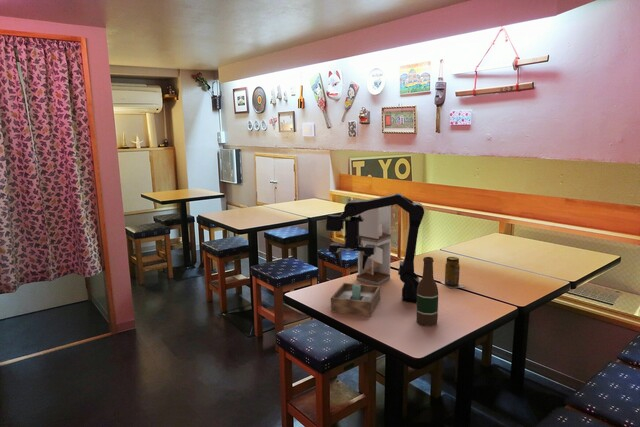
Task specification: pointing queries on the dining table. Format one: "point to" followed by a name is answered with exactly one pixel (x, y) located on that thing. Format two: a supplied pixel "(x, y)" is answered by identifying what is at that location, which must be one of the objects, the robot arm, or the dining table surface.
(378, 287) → the box
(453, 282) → the condiment
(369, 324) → the dining table surface
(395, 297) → the dining table surface
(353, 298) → the peg
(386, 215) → the display case
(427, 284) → the beer bottle
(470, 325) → the dining table surface
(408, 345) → the dining table surface
